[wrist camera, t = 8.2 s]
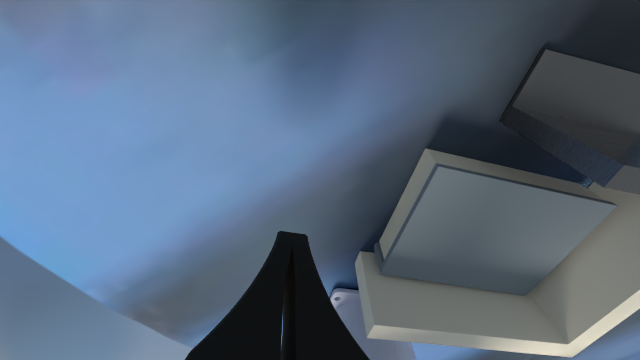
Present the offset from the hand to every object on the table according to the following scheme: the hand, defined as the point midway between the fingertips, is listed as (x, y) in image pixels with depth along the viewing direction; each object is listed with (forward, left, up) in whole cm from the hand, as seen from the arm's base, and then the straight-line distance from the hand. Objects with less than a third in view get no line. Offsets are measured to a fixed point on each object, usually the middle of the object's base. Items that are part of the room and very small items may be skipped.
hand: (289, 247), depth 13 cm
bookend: (+9, -15, -6) cm, 19 cm away
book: (-1, -13, -6) cm, 15 cm away
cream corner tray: (0, -13, -6) cm, 14 cm away
